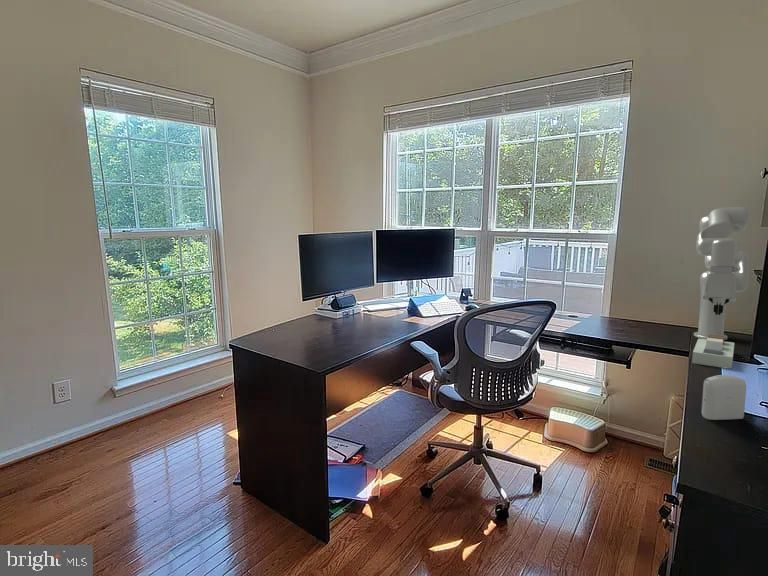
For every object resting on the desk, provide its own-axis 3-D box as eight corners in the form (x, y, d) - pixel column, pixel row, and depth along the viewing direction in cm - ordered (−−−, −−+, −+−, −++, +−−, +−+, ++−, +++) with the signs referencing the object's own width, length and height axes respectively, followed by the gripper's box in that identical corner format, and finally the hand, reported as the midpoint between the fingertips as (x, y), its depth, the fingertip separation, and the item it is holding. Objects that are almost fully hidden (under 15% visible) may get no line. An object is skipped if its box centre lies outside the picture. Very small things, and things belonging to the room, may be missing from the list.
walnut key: (708, 342, 178) (708, 333, 178) (723, 344, 175) (724, 335, 175) (707, 345, 175) (708, 336, 174) (722, 347, 171) (723, 337, 171)
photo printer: (709, 421, 117) (712, 378, 115) (698, 414, 121) (701, 373, 119) (746, 420, 117) (750, 377, 115) (734, 413, 121) (737, 372, 119)
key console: (697, 348, 182) (698, 338, 182) (733, 353, 175) (734, 342, 174) (692, 363, 164) (692, 351, 164) (731, 369, 157) (732, 357, 156)
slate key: (704, 355, 167) (705, 345, 166) (721, 357, 163) (721, 347, 163) (703, 358, 163) (704, 348, 162) (720, 360, 160) (721, 350, 159)
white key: (706, 346, 172) (707, 337, 172) (722, 348, 169) (723, 339, 169) (705, 349, 169) (706, 340, 168) (721, 351, 165) (722, 342, 165)
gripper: (745, 269, 168) (741, 314, 171) (699, 268, 178) (696, 310, 181) (745, 271, 163) (741, 318, 165) (697, 270, 172) (694, 313, 175)
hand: (717, 314), depth 173 cm, fingers closed
